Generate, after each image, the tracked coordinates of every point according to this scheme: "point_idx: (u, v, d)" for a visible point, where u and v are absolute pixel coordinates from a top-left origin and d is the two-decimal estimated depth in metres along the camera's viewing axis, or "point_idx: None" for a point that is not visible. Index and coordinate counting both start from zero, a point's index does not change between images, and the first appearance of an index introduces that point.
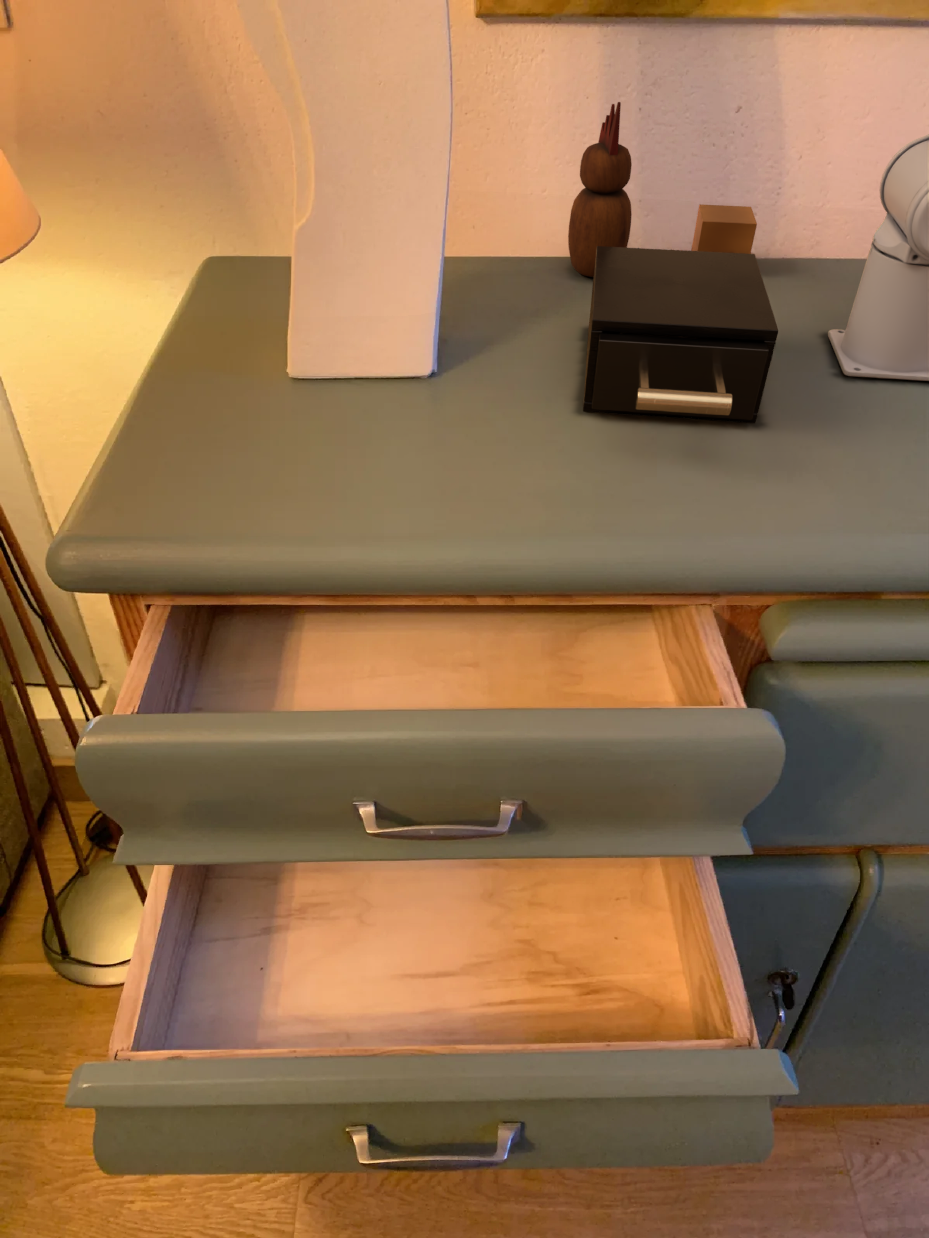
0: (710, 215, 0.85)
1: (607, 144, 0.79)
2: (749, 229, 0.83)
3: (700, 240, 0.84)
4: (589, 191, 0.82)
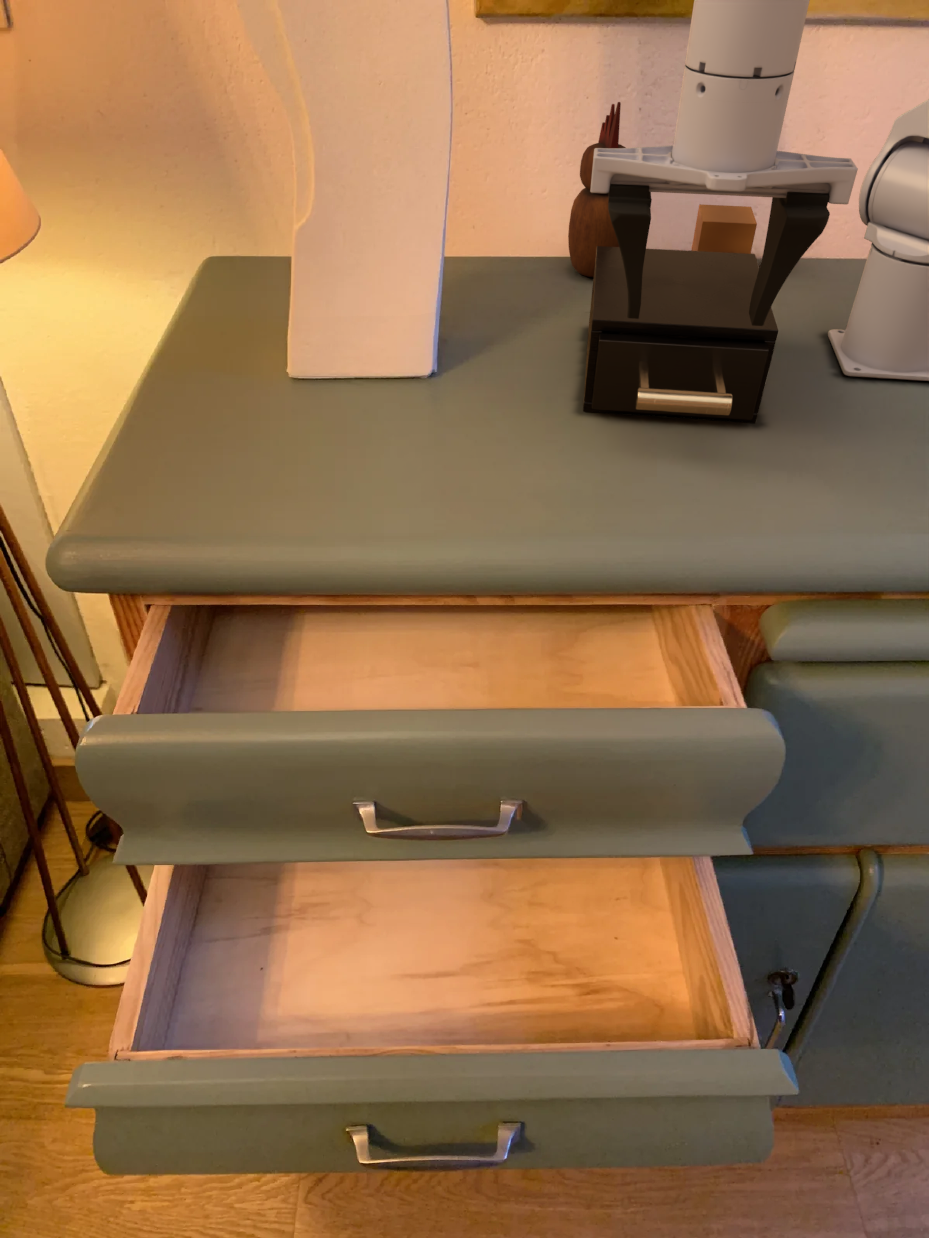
0: (710, 215, 0.85)
1: (607, 144, 0.79)
2: (749, 229, 0.83)
3: (700, 240, 0.84)
4: (589, 191, 0.82)
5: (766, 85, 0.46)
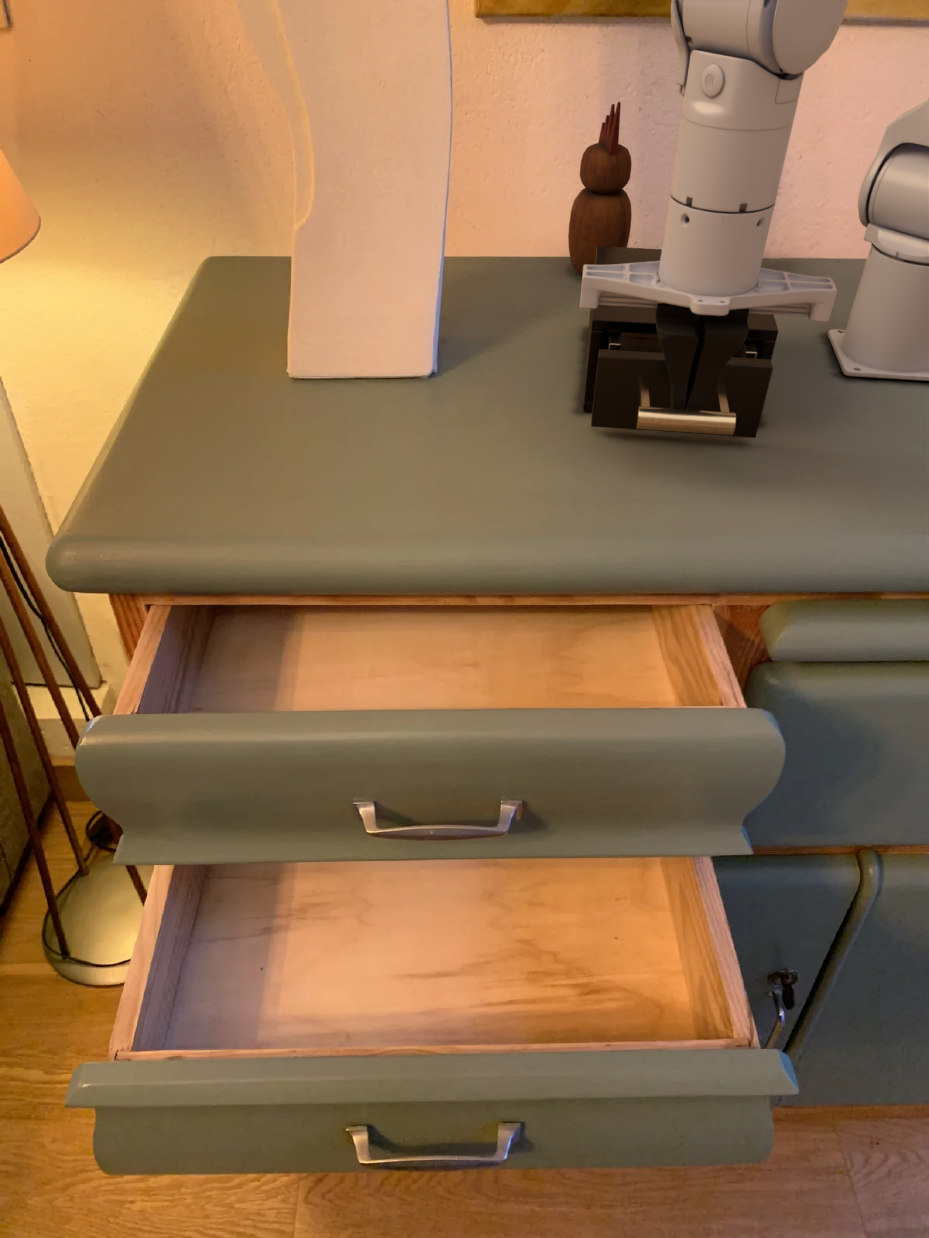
0: None
1: (607, 144, 0.79)
2: None
3: None
4: (589, 191, 0.82)
5: (747, 219, 0.47)
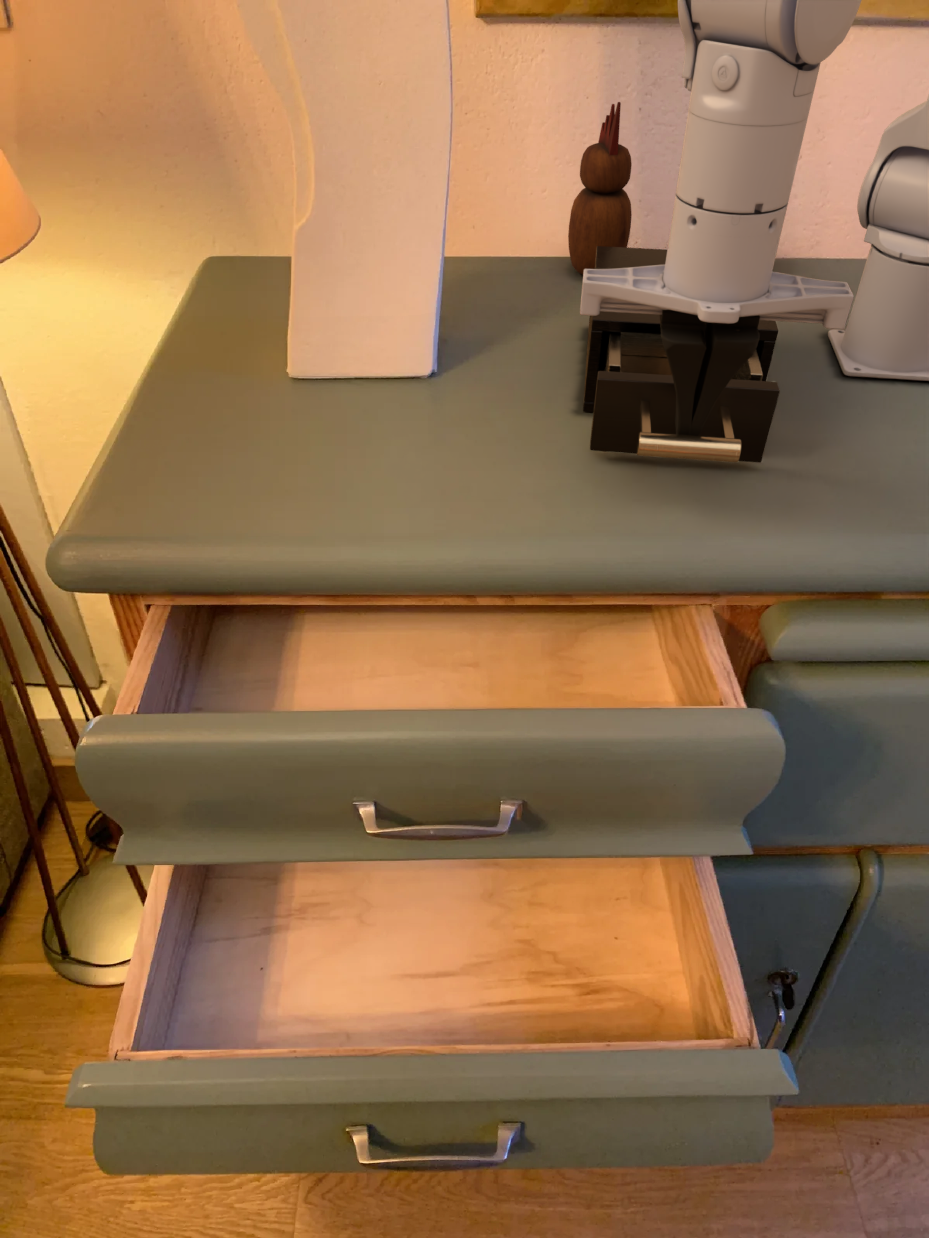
0: None
1: (607, 144, 0.79)
2: None
3: None
4: (589, 191, 0.82)
5: (759, 220, 0.44)
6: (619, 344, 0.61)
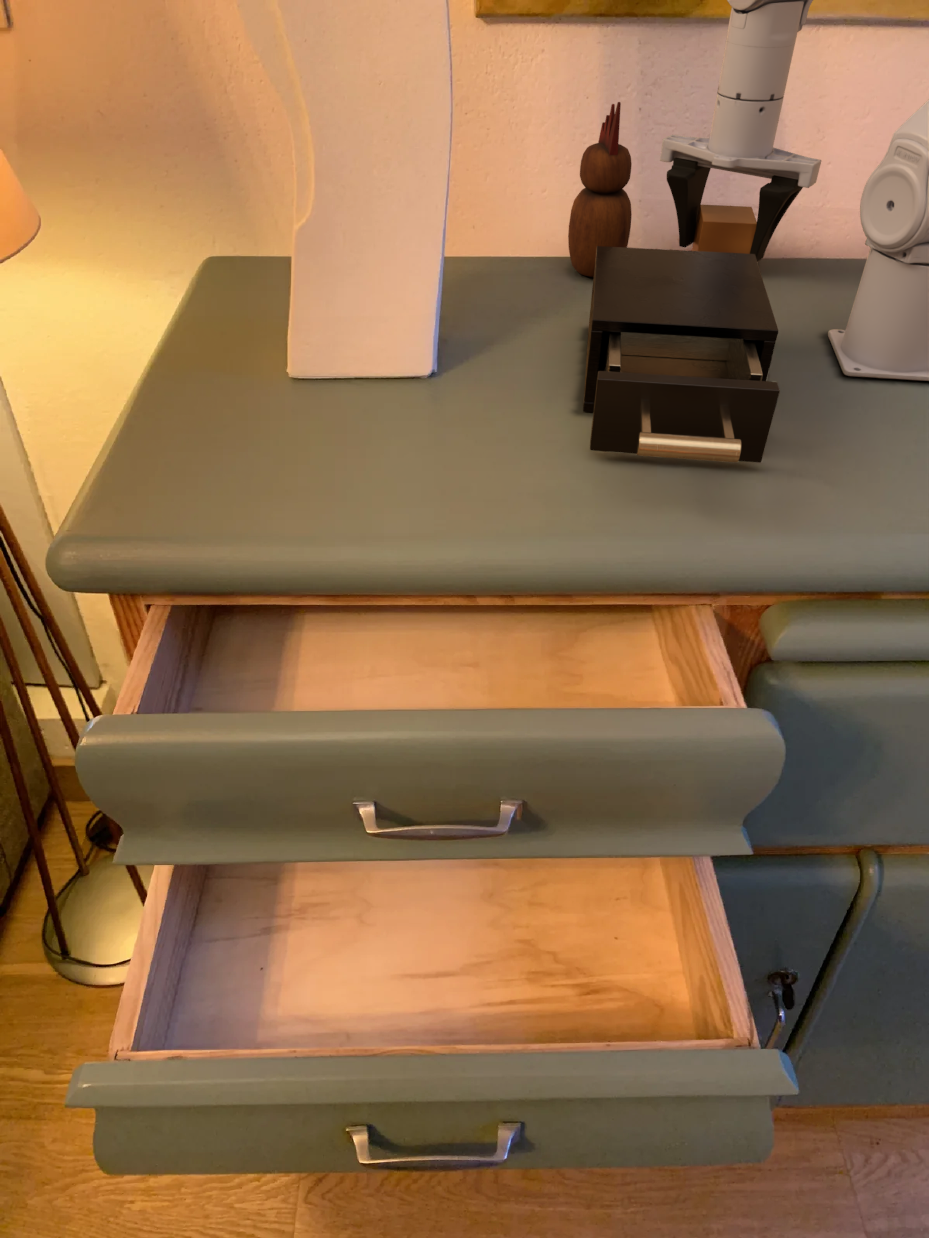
0: (711, 215, 0.84)
1: (607, 144, 0.79)
2: (749, 229, 0.83)
3: (700, 240, 0.84)
4: (589, 191, 0.82)
5: (751, 105, 0.76)
6: (619, 344, 0.61)
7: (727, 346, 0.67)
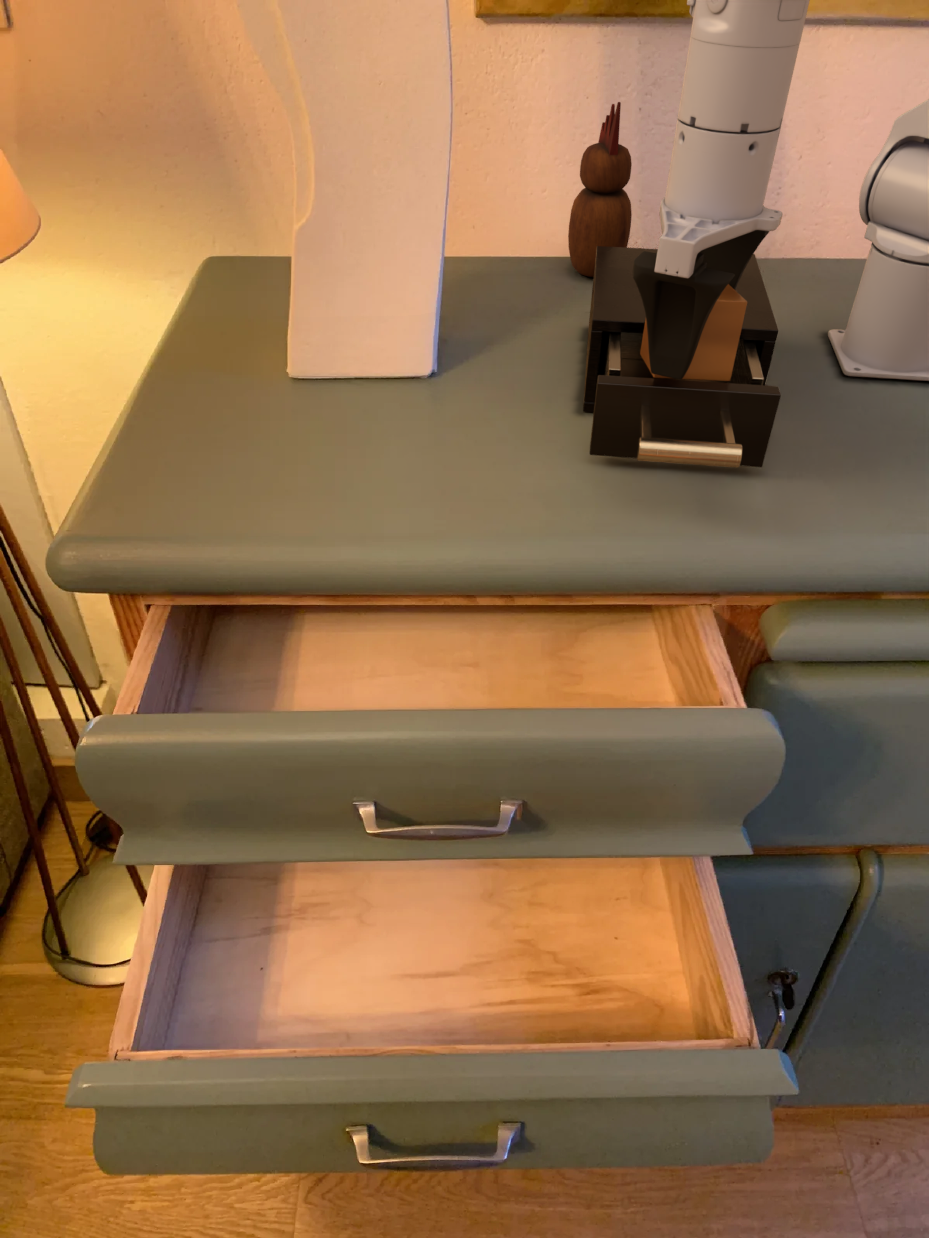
0: None
1: (607, 144, 0.79)
2: None
3: (740, 330, 0.56)
4: (589, 191, 0.82)
5: None
6: (619, 348, 0.61)
7: None
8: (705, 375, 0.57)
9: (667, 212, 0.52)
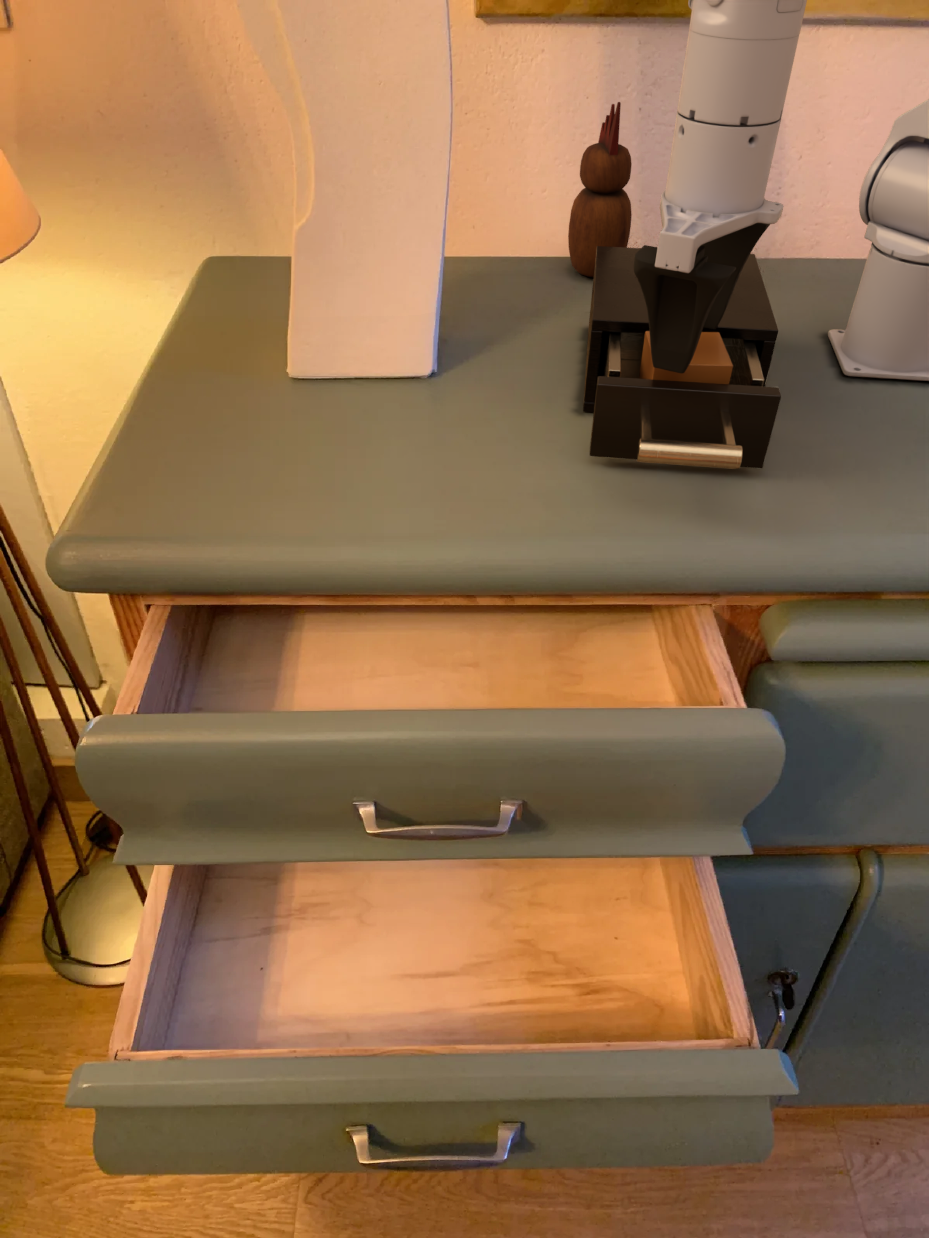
0: (704, 358, 0.57)
1: (607, 144, 0.79)
2: None
3: None
4: (589, 191, 0.82)
5: None
6: (619, 349, 0.61)
7: (728, 350, 0.67)
8: None
9: (667, 206, 0.52)
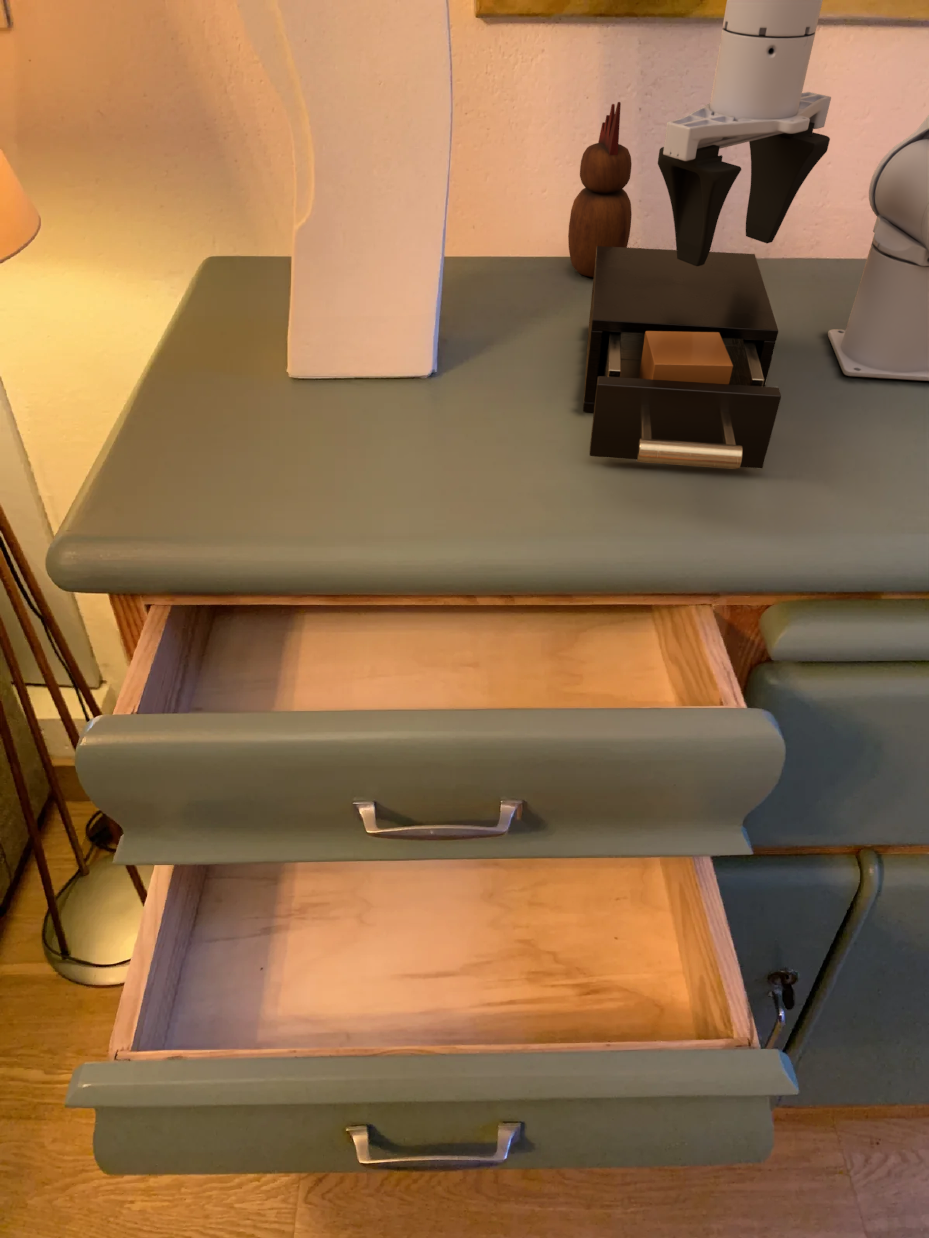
0: (704, 358, 0.57)
1: (607, 144, 0.79)
2: None
3: None
4: (589, 191, 0.82)
5: (813, 40, 0.55)
6: (619, 349, 0.61)
7: (728, 350, 0.67)
8: None
9: (704, 109, 0.59)
